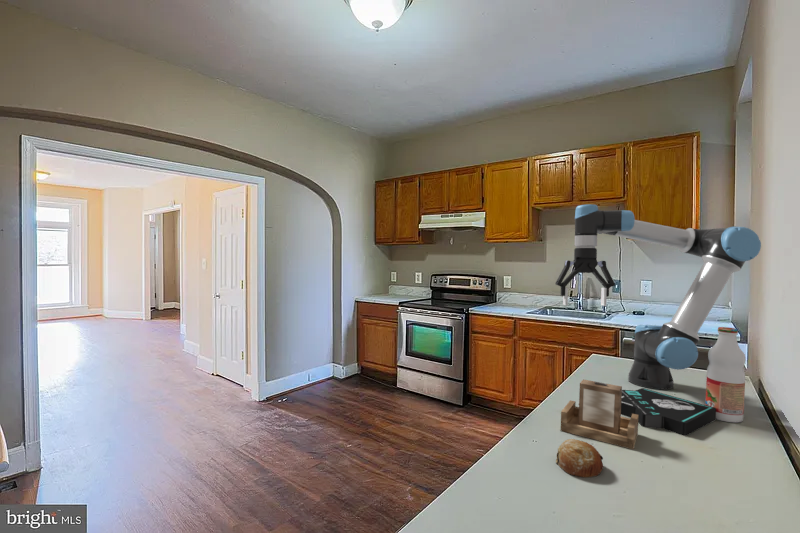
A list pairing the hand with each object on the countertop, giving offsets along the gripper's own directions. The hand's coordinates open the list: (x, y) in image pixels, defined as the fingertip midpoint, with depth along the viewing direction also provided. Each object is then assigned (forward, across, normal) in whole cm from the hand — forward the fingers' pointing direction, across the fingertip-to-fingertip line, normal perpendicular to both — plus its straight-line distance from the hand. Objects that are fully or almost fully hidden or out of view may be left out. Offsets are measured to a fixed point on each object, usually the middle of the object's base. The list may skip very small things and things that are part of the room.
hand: (584, 305), depth 149 cm
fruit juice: (+32, -36, +20) cm, 52 cm away
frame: (+30, +8, +36) cm, 48 cm away
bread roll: (+32, +20, +56) cm, 68 cm away
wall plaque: (+32, -17, +21) cm, 42 cm away
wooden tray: (+31, +8, +37) cm, 49 cm away
